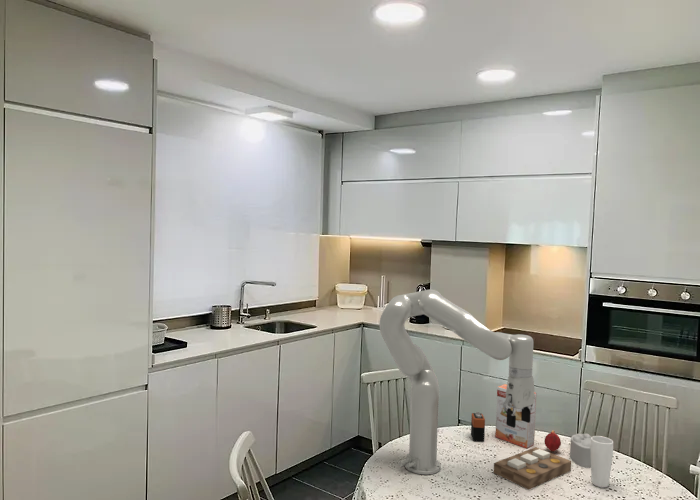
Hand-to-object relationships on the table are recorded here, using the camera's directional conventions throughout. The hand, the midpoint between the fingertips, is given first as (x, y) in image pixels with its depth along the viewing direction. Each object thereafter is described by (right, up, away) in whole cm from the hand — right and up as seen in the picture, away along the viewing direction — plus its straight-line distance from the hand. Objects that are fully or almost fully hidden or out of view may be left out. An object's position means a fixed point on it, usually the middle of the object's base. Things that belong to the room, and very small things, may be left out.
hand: (518, 423), depth 182 cm
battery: (-6, -16, +32) cm, 37 cm away
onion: (+19, -18, +21) cm, 34 cm away
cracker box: (+8, -17, +30) cm, 35 cm away
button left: (0, -16, +1) cm, 16 cm away
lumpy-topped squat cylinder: (+29, -18, +15) cm, 37 cm away
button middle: (+5, -15, +5) cm, 17 cm away
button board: (+6, -18, +4) cm, 19 cm away
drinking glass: (+26, -19, -4) cm, 32 cm away
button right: (+11, -15, +9) cm, 21 cm away
